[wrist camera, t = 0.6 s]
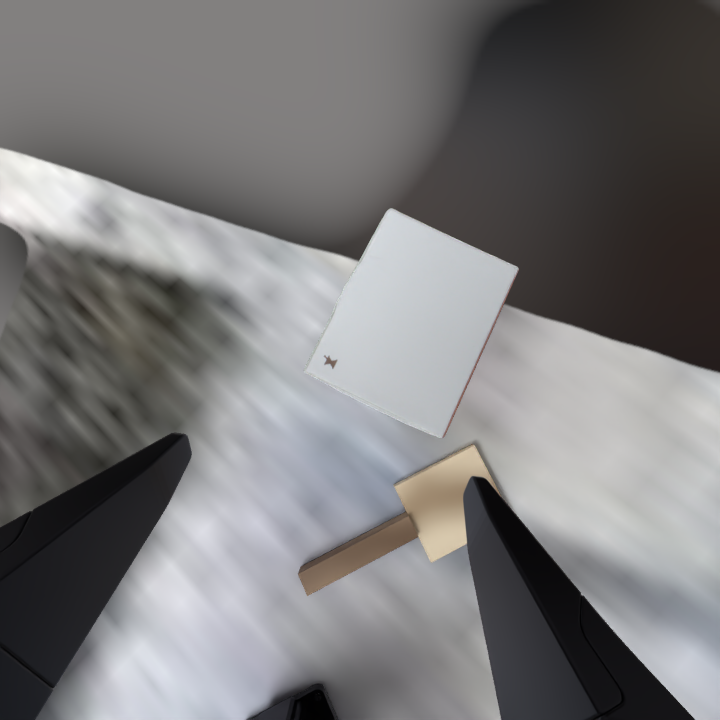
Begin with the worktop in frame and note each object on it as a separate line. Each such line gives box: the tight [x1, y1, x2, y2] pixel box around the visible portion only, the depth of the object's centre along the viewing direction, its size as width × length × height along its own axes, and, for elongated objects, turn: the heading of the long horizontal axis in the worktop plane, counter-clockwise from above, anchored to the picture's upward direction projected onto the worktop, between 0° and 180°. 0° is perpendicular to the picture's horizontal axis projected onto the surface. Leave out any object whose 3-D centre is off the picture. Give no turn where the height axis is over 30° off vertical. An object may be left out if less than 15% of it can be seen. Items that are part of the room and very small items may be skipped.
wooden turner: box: [298, 445, 501, 596], centre depth 23 cm, size 6×16×1 cm, turn 116°
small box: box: [304, 208, 519, 438], centre depth 19 cm, size 8×6×13 cm
